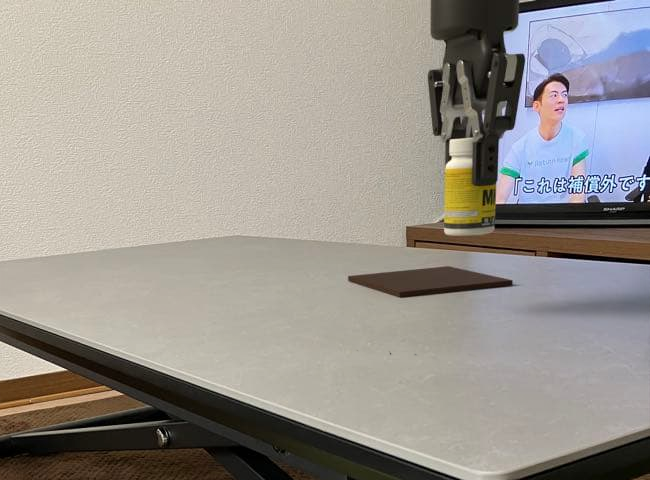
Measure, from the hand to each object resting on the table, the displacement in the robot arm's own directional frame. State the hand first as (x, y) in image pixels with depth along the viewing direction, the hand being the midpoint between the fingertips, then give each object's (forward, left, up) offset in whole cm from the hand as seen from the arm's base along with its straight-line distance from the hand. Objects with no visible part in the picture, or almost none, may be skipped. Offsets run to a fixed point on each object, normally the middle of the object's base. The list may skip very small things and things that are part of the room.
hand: (470, 184), depth 84 cm
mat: (-6, -21, -12) cm, 25 cm away
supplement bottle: (0, 0, -5) cm, 5 cm away
